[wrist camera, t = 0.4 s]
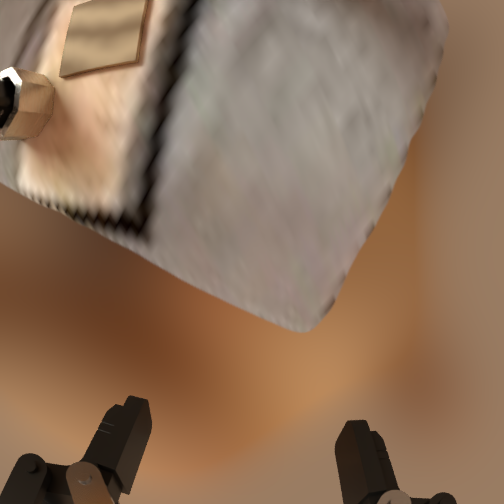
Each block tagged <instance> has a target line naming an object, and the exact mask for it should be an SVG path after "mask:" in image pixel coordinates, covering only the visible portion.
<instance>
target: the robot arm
mask: <svg viewBox="0 0 504 504" xmlns="http://www.w3.org/2000/svg"><path fill="white" fill-rule="evenodd" d="M151 429H152V420H151V414H150V408H149V403H148V400H147V399H143V398H139V397H135V396H128V398H127V400H126V402H125V403H124V406H121V405H117V404H115V405H114V406H113V407H112V408H110V409H109V410H108V411H107V412H106V414H105V416H104V418H103V420H102V423H100V425H99V427H98V430H97V431H96V433H95V435H94V437H93V439H92V441H91V443H90V445H89V447H88V449H87V451H86V453H85V455H84V457H83V458H82V459H81V460H80V461H79V462H76V463H73V464H72V465H69V466H64V465H57V464H50V463H45V461H44V460H43V459H42V458H41V457H40V456H38V455H36V454H32V453H29V454H24V455H22V456H21V457H20V458H19V459H18V461H17V462H16V464H15V467H14V468H13V470H12V472H11V474H10V476H9V478H8V481H7V483H6V485H5V487H4V489H3V491H2V493H1V495H0V504H120V503H119V501H118V500H119V497H120V494H121V492H122V493H125V494H128V495H129V494H130V491H131V488H132V485H133V482H134V479H135V476H136V473H137V470H138V467H139V464H140V461H141V459H142V456H143V453H144V450H145V447H146V445H147V442H148V439H149V436H150V434H151ZM335 456H336V462H337V467H338V473H339V479H340V485H341V491H342V497H343V503H344V504H457V503H456V500H455V498H454V497H453V496H452V495H450V494H449V493H445V492H444V493H443V492H442V493H438V494H436V495H435V496H433V497H432V498H431V499H426V498H425V499H423V498H411V497H409V496H408V495H407V494H406V493H405V492H403V491H400V489H399V488H398V485H397V481H396V478H395V475H394V471H393V469H392V465H391V462H390V459H389V456H388V452H387V451H386V446H385V443H384V440H383V439H382V437H381V436H380V435H379V434H378V433H377V432H376V431H370V429H369V426H368V423H367V421H366V420H350V421H347V422H346V424H345V426H344V428H343V429H342V431H341V433H340V435H339V437H338V439H337V441H336V444H335Z"/></svg>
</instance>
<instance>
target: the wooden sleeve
mask: <svg viewBox="0 0 504 504" xmlns="http://www.w3.org/2000/svg"><path fill="white" fill-rule="evenodd" d="M0 79H2V80H8V81H12V82H13V83H14V85H15V86H16V89H15V96H14V105H13V110H12V112H11V113H10V115H9V117H8V119H7V121H6V122H5V124H4V126H3V128H0V141H6V140H22V139H27V138H31V137H35V136H38V135H39V133H40V132H41V130H42V129H43V127H44V126H45V124H46V123H47V121H48V120H49V118H50V117H51V115H52V111H53V100H54V91H55V88H54V87H53V85H52V84H51V83H50V82H49V81H48V79H47V78H46V77H45V76H44V75H42V74H39V73H35V72H31V71H27V70H23V69H19V68H15V67H10V68H8V69H6V70H4V71H2V72H0Z"/></svg>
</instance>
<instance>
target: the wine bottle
mask: <svg viewBox="0 0 504 504" xmlns="http://www.w3.org/2000/svg"><path fill="white" fill-rule="evenodd" d="M15 89H16V86H15V85H14V83H13V82H12V81H8V80H2V79H0V128H3V126H4V124H5V122H6V121H7V119H8V117H9V115H10V113H11V112H12V110H13V105H14V96H15Z"/></svg>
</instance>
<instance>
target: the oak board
mask: <svg viewBox="0 0 504 504" xmlns="http://www.w3.org/2000/svg"><path fill="white" fill-rule="evenodd" d="M147 5H148V0H92V1H88V2H85V3H82V4H79V5H77V6H74V8H73V11H72V15H71V19H70V23H69V27H68V31H67V36H66V40H65V45H64V50H63V55H62V61H61V67H60V73H59V77H61V78H65V77H68V76H72V75H76V74H80V73H84V72H88V71H93V70H97V69H102V68H107V67H112V66H118V65H124V64H130V63H136V62H138V60H139V52H140V45H141V38H142V32H143V26H144V20H145V15H146V10H147Z"/></svg>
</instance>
